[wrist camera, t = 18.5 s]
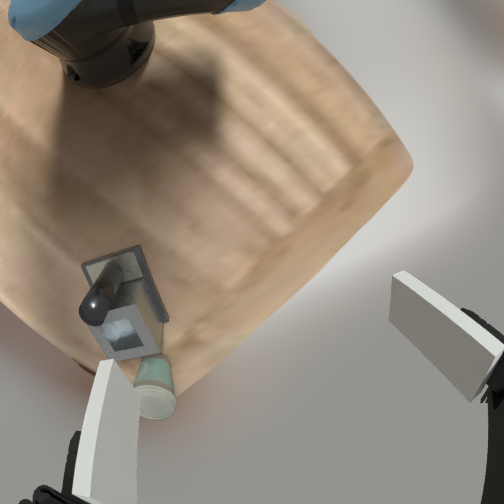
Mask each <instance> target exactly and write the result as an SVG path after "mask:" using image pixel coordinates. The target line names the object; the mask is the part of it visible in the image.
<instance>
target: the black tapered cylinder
mask: <svg viewBox="0 0 504 504" xmlns="http://www.w3.org/2000/svg"><path fill="white" fill-rule="evenodd" d="M123 278H124V271H123V269H122V267H121V266H120V265H119V264H117V263H108V264H107V265H106V266H105V267H104V268H103V270H102V271H101V273H100V275H99V276H98V278H97V279H96V281H95V282H94V284H93V285H92V287H91V289H90V290H89V292H88V294H87V295H86V297H85V298H84V300H83V302H82V303H81V305H80V307H79V315H80V317H81V319H82V320H83V321H84V322H85V323H86V324H88V325H90V326H95V327H96V326H100V325H102V324H103V323H104V320H105V318H106V316H107V313H108V311H109V309H110V306H111V304H112V302H113V299H114V297H115V295H116V293H117V291H118V288H119V286H120V284H121V282H122V280H123Z"/></svg>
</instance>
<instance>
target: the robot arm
mask: <svg viewBox="0 0 504 504" xmlns="http://www.w3.org/2000/svg"><path fill="white" fill-rule="evenodd" d="M265 1H266V0H11V2H10V6H9V10H8V20H9V24H10V26H11V27H12V28H13V29H14V30H15V31H17V32H18V33H19V34H21V36H22V38H23V39H25V40H28V41H30V42H32V43H33V44H35V45H37V46H39V47H41V48H43V49H44V50H46V51H48V52H50V53H51V54H53V55H55V56H57V57H58V58H59V59H60V62H61V65H62V68H63V70H64V72H65V74H66V75H67V76H68V77H69V78H70V79H71V80H72V81H73V82H75V83H77V84H79V85H81V86H84V87H87V88H102V87H107V86H111V85H113V84H116V83H118V82H120V81H122V80H124V79H125V78H127V77H129V76H130V75H131V74H133V73H134V72H135V71H136V70H137V69H138V68H139V67H140V66H141V65H142V64H143V63H144V62H145V60H146V59H147V58H148V56H149V54H150V52H151V50H152V48H153V45H154V42H155V27H154V24H153V21H155V20H160V19H166V18H172V17H179V16H187V15H196V14H207V13H211V14H213V15H217V14H222V13H225V12H239V11H249V10H252V9H254V8H256V7H258V6H260V5H262V4H263V3H264V2H265ZM389 321H390V322H391V323H392V324H393V325H394V326H395V327H396V328H397V329H398V330H399V331H401V333H402V334H403V335H404V336H405V337H406V338H408V339H409V340H410V341H411V342H412V343H413V344H414V345H415V346H416V347H417V348H418V349H419V350H420V351H421V352H422V353H423V354H424V355H425V356H426V357H427V358H428V359H429V360H430V361H431V362H432V363H433V365H434V366H436V368H437V369H438V370H439V371H440V372H441V373H442V374H443V375H444V376H445V377H446V378H447V379H448V380H449V381H450V382H451V383H452V384H453V385H454V386H455V387H456V388H457V390H458V391H459V392H460V393H461V394H462V395H463V396H464V397H465V398H466V399H467V400H468V402H471V401H472V400H473V399H474V398H475V397H476V396H478V395H479V393H481V391H482V389H483V388H484V386H485V384H487V385H488V386H489V387H488V388H487V390H486V392H485V393H484V395H483V396H482V398H481V403H483V402H484V400H485V399H486V397H487V399H486V402H485V403H488V425H489V426H488V454H487V466H486V475H485V482H484V489H483V495H482V500H481V504H504V336H503V335H502V334H501V333H500V332H499V331H497V330H496V329H495V328H494V327H492V326H491V325H490V324H487V322H486V321H485V320H483V319H481V318H480V317H479V316H478V315H477V314H475V313H474V312H472V311H470V310H467V309H464V308H462V309H458V308H457V307H455V306H454V305H453V304H451V303H450V302H448V301H447V300H446V299H444V298H443V297H442V296H440V295H439V294H438V293H436V292H435V291H433V290H432V289H430V288H429V287H428V286H426V285H425V284H423V283H422V282H420V281H419V280H417V279H416V278H415V277H413V276H412V275H410V274H409V273H407V272H406V271H404V270H403V271H401V272H398V273H396V274H394V275H392V287H391V301H390V311H389ZM140 403H141V396H140V395H139V393H138V392H137V391H136V390H135V388H134V387H133V386H132V384H131V383H130V381H129V380H128V379H127V377H126V376H125V375H124V373H123V372H122V370H121V369H120V367H119V366H118V364H117V363H116V361H115V360H114V359H109V360H104V361H100V363H99V366H98V369H97V373H96V376H95V380H94V383H93V387H92V390H91V394H90V398H89V402H88V406H87V410H86V414H85V419H84V423H83V427H82V431H76V432H75V434H74V435H73V437H72V439H71V440H70V445H69V450H68V452H69V454H68V455H67V462H66V466H65V472H64V479H63V486H62V492H61V493H59V492H58V491H56V490H54V489H52V488H51V487H49V486H47V485H41V486H39V487H38V488H37V489H36V490H35V491H34V494H33V502H31V501H30V500H28V499H23V500H21V501H20V503H19V504H137V445H138V429H139V415H140Z"/></svg>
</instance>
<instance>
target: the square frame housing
mask: <svg viewBox="0 0 504 504" xmlns="http://www.w3.org/2000/svg"><path fill="white" fill-rule="evenodd" d="M108 263H117V264H119V265H120V266H121V267H122V269H123V271H124V278H123V280H122V282H121V284H120V286H119V288H118V291H117V293H116V295H115V297H114V299H113V302H112V304H111V306H110V309H109V311H108V313H107V316H106V318H105V320H104V323H103V324H102V325H100V326H96V327H95V326H90V325H88V324H87V325H88V327H89V328H90V330H91V332H92V334H93V335H94V337H95V338H96V340H97V342H98V343H99V345H100V346H101V348H102V350H103V351H104V353H105V354H106V356H107V357H108V359H114V360H115V361H121V360H127V359H132V358H137V357H142V356H147V355H151V354H156V353H160V352H161V343H162V332H163V323H164V322H166V321H169V316H168V313H167V311H166V309H165V307H164V304H163V302H162V300H161V297H160V295H159V292H158V290H157V288H156V285H155V283H154V280H153V278H152V275H151V273H150V270H149V268H148V265H147V262H146V260H145V257H144V254H143V252H142V249H141V246H140V245H137V246H134V247H131V248H128V249H125V250H121V251H118V252H115V253H112V254H109V255H106V256H103V257H100V258H97V259H94V260H91V261H88V262H85V263H83V264H82V265H81V267H82V270H83V272H84V274H85V276H86V279H87V281H88V283H89V285H90V287H92V285H93V284H94V282H95V281H96V279H97V278H98V276H99V275H100V273H101V271H102V270H103V268H104V267H105V266H106V265H107V264H108Z"/></svg>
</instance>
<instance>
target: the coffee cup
mask: <svg viewBox="0 0 504 504" xmlns="http://www.w3.org/2000/svg"><path fill="white" fill-rule="evenodd" d="M133 387H134V388H135V390H136V391H137V392H138V393H139V395H140V396H141V403H140V416H142V417H144V418H147V419H152V420H162V419H166V418H168V417H170V416H171V415H172V414H173V413H174V410H175V409H176V405H177V399H176V397H175V395H174V389H173V382H172V375H171V368H170V362H169V360H168V358H167V357H166V356H164V355H163V354H161V353H156V354H151V355H147V356H143V357H142V360H141V363H140V366H139V369H138V372H137V376H136V379H135V382H134V385H133Z"/></svg>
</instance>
